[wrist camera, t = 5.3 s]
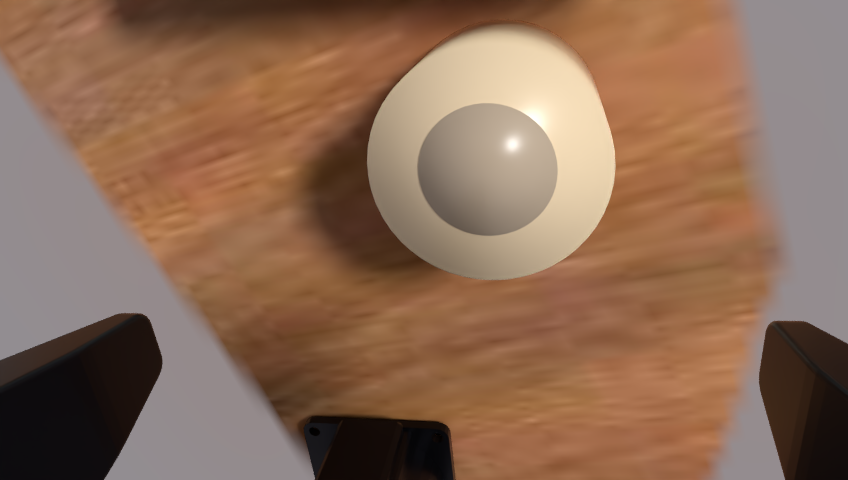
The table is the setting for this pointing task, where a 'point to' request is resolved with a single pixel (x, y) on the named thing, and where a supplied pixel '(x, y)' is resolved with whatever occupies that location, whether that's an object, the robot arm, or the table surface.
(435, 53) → the cream dome knob
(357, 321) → the table surface
